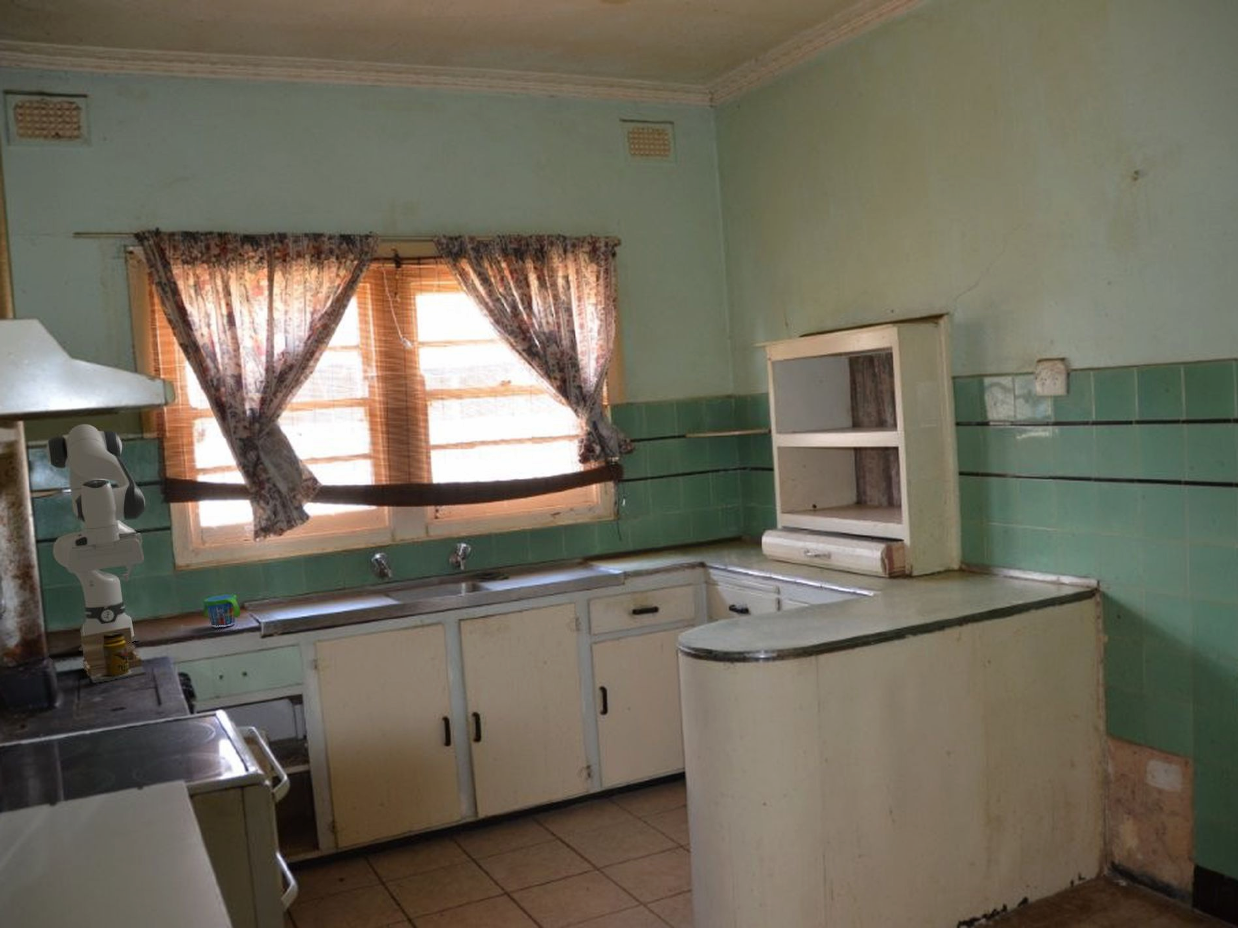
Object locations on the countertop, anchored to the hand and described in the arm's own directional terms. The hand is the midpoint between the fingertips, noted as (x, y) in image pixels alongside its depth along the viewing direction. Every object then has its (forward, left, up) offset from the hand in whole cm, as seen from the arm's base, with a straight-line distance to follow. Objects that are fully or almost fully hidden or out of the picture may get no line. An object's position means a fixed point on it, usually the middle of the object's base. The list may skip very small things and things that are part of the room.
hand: (108, 583), depth 321 cm
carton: (-12, -1, -27) cm, 30 cm away
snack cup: (-47, +38, -27) cm, 67 cm away
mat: (+2, -1, -27) cm, 27 cm away
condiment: (+2, -2, -27) cm, 27 cm away
